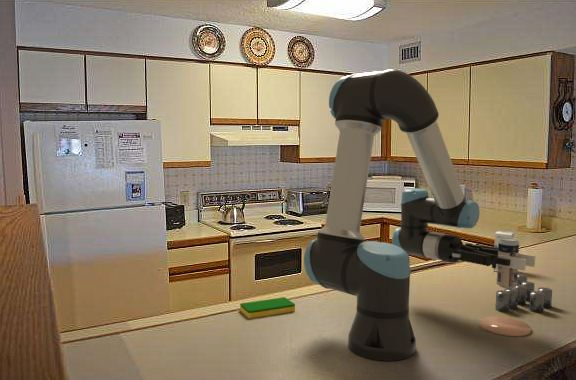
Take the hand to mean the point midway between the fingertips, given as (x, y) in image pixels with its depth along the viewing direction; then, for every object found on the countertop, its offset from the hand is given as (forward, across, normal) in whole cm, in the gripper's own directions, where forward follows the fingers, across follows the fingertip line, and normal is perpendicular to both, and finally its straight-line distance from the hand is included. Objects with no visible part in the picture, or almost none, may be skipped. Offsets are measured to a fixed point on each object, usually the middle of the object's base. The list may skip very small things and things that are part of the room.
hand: (529, 263), depth 118 cm
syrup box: (-31, -55, -18) cm, 66 cm away
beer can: (-5, 0, -7) cm, 9 cm away
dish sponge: (-54, +38, -18) cm, 69 cm away
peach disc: (-5, 0, -18) cm, 18 cm away
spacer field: (-11, -23, -18) cm, 31 cm away
